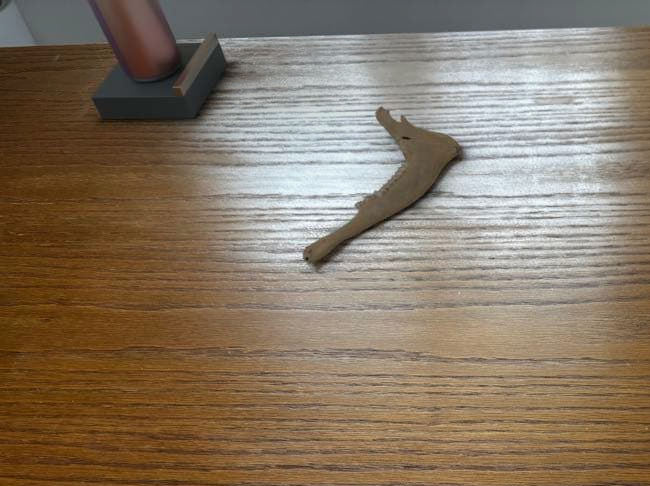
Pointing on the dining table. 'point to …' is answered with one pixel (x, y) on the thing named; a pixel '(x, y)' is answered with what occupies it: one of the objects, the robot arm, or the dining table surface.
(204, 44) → the grey ledged base
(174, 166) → the dining table surface
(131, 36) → the beverage can
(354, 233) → the jawbone
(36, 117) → the dining table surface
